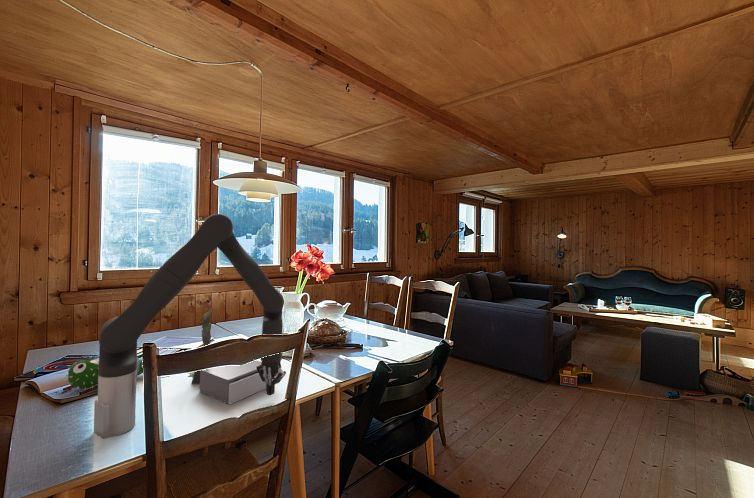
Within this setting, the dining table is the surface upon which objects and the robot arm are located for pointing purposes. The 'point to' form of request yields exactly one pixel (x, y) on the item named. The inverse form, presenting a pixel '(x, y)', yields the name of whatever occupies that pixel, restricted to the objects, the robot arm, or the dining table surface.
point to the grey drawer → (245, 387)
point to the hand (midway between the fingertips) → (270, 394)
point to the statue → (204, 340)
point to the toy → (89, 373)
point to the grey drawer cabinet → (224, 379)
